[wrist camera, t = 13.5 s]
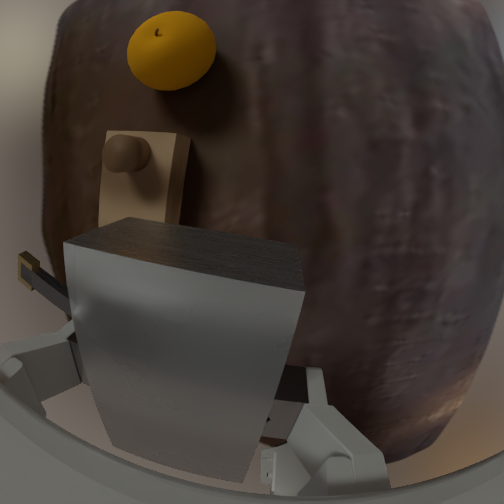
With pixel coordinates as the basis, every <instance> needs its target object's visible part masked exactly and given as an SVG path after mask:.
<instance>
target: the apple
mask: <svg viewBox="0 0 504 504" xmlns="http://www.w3.org/2000/svg"><path fill="white" fill-rule="evenodd" d="M215 54H216V42H215V36H214V34H213V32H212V31H211V29H210V28H209V26H208V25H207V24H206V22H204V21H203V20H202V19H200V18H198V17H196V16H195V15H193V14H190V13H186V12H181V11H171V12H164V13H161V14H159V15H156V16H153V17H152V18H150V19H148V20H147V21H145V22H144V23H143V24H142V25H141V26H140V27H139V28H138V29H137V30H136V31H135V33H134V34H133V36H132V37H131V39H130V41H129V45H128V49H127V57H128V64H129V66H130V68H131V70H132V72H133V74H134V76H135V77H136V78H137V79H139V80H140V81H141V82H142V83H144V84H145V85H146V86H148V87H151V88H154V89H157V90H177V89H180V88H184V87H187V86H189V85H191V84H193V83H194V82H196V81H198V80H199V79H200V78H201V77H202V76H203V75H204V74H205V73H207V72H208V70H209V68H210V67H211V65H212V63H213V62H214V59H215Z"/></svg>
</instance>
